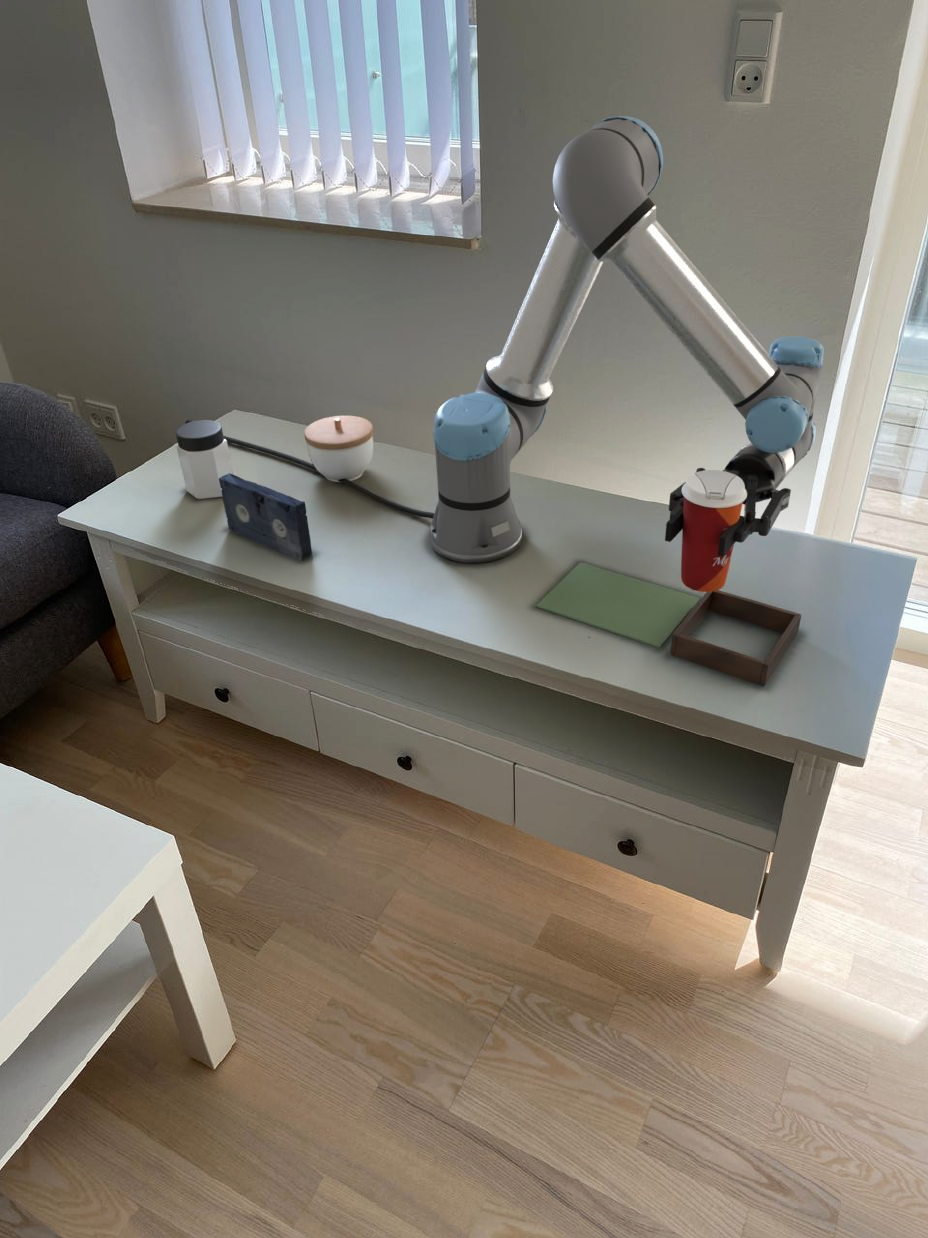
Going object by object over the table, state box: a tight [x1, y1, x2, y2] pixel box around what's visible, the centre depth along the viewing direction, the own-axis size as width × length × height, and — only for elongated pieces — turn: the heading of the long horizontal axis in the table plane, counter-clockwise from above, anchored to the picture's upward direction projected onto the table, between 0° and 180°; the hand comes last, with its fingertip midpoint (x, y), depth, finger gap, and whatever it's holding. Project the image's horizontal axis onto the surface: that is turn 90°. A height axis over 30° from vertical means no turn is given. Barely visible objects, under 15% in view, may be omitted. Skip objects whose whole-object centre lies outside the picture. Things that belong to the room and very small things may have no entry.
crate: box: [669, 589, 802, 687], centre depth 135 cm, size 13×13×4 cm
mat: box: [535, 562, 700, 649], centre depth 145 cm, size 20×14×1 cm
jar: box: [175, 419, 234, 500], centre depth 178 cm, size 9×8×12 cm
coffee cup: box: [680, 469, 747, 593], centre depth 129 cm, size 8×8×15 cm
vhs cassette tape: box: [219, 473, 313, 561], centre depth 161 cm, size 18×3×10 cm, turn 51°
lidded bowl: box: [303, 414, 375, 483], centre depth 181 cm, size 13×13×11 cm
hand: (694, 539), depth 125 cm, fingers closed on coffee cup, 6 cm apart
